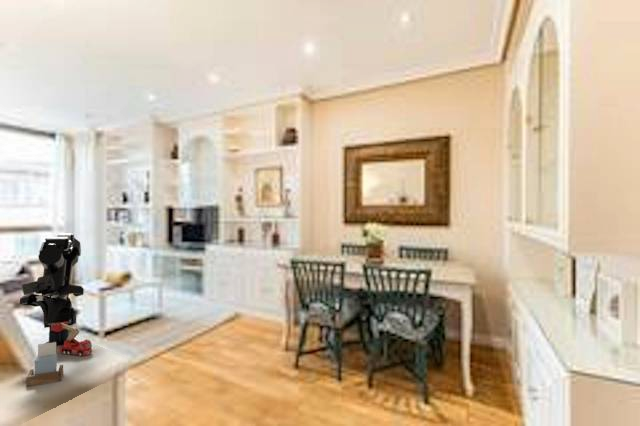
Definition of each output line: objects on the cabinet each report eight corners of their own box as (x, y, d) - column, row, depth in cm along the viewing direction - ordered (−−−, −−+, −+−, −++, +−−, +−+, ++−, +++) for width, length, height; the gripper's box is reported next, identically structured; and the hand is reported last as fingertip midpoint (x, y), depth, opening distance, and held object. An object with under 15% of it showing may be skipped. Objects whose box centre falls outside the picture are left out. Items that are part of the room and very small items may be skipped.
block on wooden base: (36, 377, 102) (37, 344, 102) (56, 374, 104) (57, 341, 104) (34, 383, 98) (35, 349, 98) (54, 380, 101) (55, 346, 101)
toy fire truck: (85, 357, 117) (85, 327, 117) (49, 353, 120) (50, 323, 120) (93, 353, 120) (94, 324, 120) (59, 349, 123) (59, 320, 123)
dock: (33, 370, 107) (34, 361, 107) (65, 365, 110) (65, 357, 110) (26, 386, 97) (26, 377, 97) (61, 380, 101) (61, 371, 101)
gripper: (5, 276, 111) (-3, 328, 106) (55, 262, 108) (49, 315, 102) (39, 281, 122) (34, 329, 116) (86, 269, 118) (83, 318, 113)
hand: (49, 323), depth 111 cm, fingers closed
